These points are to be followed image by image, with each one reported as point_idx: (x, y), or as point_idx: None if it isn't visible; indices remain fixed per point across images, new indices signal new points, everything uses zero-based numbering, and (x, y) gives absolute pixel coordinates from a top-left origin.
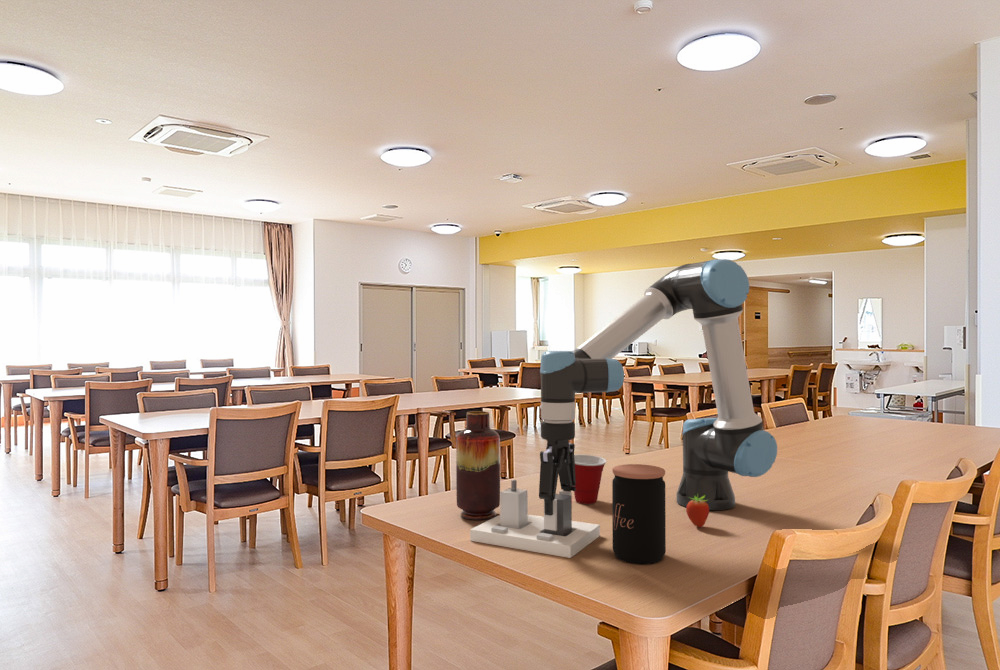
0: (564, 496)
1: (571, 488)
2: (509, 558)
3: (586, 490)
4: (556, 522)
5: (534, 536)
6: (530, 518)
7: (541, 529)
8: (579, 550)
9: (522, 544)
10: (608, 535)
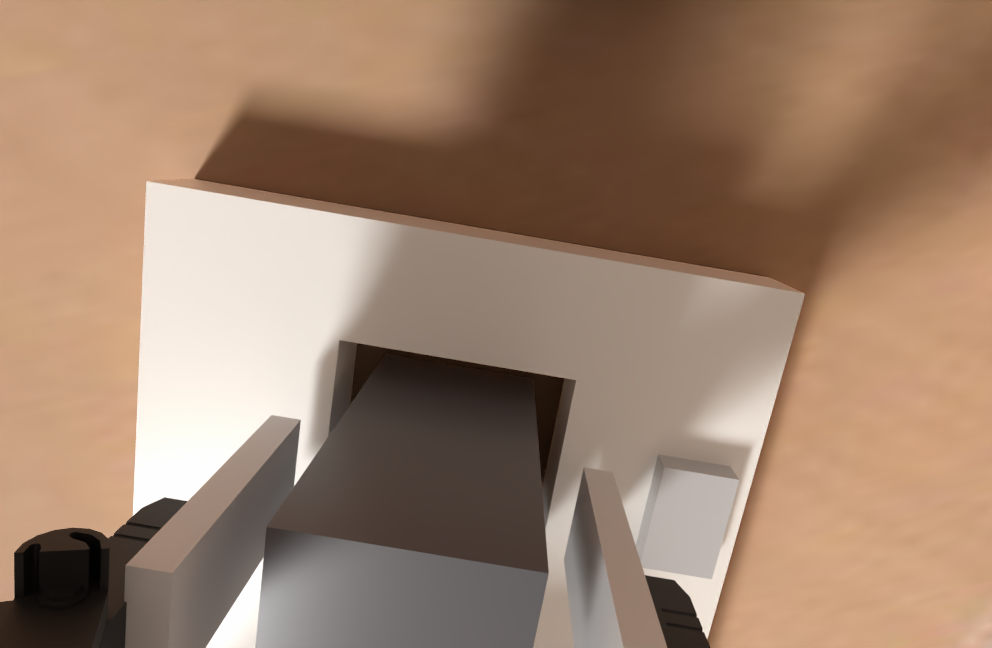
0: (355, 598)
1: (87, 595)
2: (861, 627)
3: None
4: (604, 500)
5: None
6: None
7: None
8: (605, 250)
9: None
10: (151, 114)
